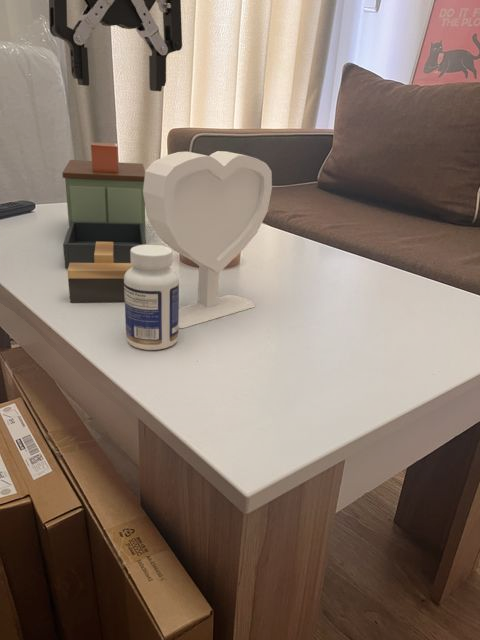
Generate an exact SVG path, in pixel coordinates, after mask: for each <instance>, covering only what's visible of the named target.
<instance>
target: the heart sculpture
mask: <svg viewBox="0 0 480 640" xmlns="http://www.w3.org/2000/svg"><path fill="white" fill-rule="evenodd" d="M272 172H273V171H272V170H271V168H270V167H269V165H268V164H267V163H266V162H265V161H263V160H261V159H259V158H257V157H253V156H250V155H246V154H240V153H235V152H231V151H226V150H225V151H222V150H221V151H220V150H217V151H215V152H213V153H211V154H210V155H206V154H202V153H196V152H193V151H177V152H174V153H170V154H166V155H164V156H162V157H160V158H158V159H156V160H153V162H152V163H151V164H150V165H149V166H148V167H147V168H146V169H145V178H144V187H143V195H144V201H145V215H146V218H147V220H148V221H149V223H150V225H151V226H152V229H153V230H154V232H155V234H156V235H157V237H158V239H159V240H161V242H163V243H164V244H165V245H167V247H168V248H170V249H171V250H172V251H174V252H176V253H177V254H179V255H181V256H183V257H184V258H187V260H190V261H192V262H193V263H195V264H196V265H198V282H197V283H198V284H197V285H198V286H197V287H198V288H197V302H196V303H192V304H188V305H184V306H180V307H179V329H185V328H188V327H192V326H195V325H198V324H201V323H205V322H209V321H212V320H215V319H219V318H222V317H226V316H229V315H232V314H236V313H239V312H243V311H245V310H249V309H252V308H256V305H255V304H254V303H253V302H252V301H251V300H250V299H248V298H245V297H243V296H237V295H232V294H226V295H223V296H219V279H220V274H221V272H223V271H224V269H225V268H226V267H227V266H228V265H229V264H230V263H231V262H232V261H233V260H234V259H235V258H236V257H237V256H239V254H241V253H242V251H244V250H245V248H247V246H248V245H249V244H250V242H251V241H252V240H253V238H254V237H255V236H256V235H257V233H258V232H259V230H260V228H261V225H262V223H263V222H264V220H265V218H266V215H267V213H268V212H269V205H270V202H271V201H270V200H271V196H272V191H273V182H272V181H273V178H272V177H273V176H272V174H273V173H272Z"/></svg>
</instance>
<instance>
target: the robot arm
mask: <svg viewBox="0 0 480 640" xmlns="http://www.w3.org/2000/svg"><path fill="white" fill-rule="evenodd" d="M84 2H85V4H86V6H85V8H84V9H83V10H82V11H81V13H80V15H79V16H78V17H77V19H76V23H75V24H74V26H73V27H72V28H71V27H69V26H68V0H48V20H49V21H48V23H49V32H50V34H51V35H52V36H53V37H54V38H55V37H56V38H59V39H60V40H62V41H64V42H66V43H67V45H68V48H69V55H70V56H69V57H70V58H69V59H70V71H71V73H70V74H71V75H72V78H73V79H74V80H76V81H77V84H78V86H85V87H89V86H90V72H89V54H88V53H89V52H88V51H89V50H88V47H86V46H85V42H86V41H87V40H88V38H89V36H90V35H91V33H92V32H93V31H94V29H96V28H97V26H98V25H99V24H100V25H101V26H105V27H113V26H116V27H119V28H121V29H126V30H133V29H134V30H136V32H137V34H138V35H139V37H140V38H141V39H142V40H143V41H144V43H145V45H146V46H147V48H148V50H149V52H150V53H151V55H149V56H148V68H149V69H148V70H149V72H148V73H149V76H148V77H149V80H148V81H149V83H148V84H149V85H148V86H149V90H150V91H152V92H162V90H163V87H165V86H166V84H167V57H168V55H169V54H172V53H174V52H179V51H181V50H182V49H183V30H182V29H183V27H182V26H183V25H182V2H181V0H84ZM155 3H157V5H158V10H159V11H160V12H161V13H162V21H163V23H162V24H163V36H162V35H161V33H160V29H159V27H158V25H157V23H156V21H155V19H154V17H153V16H152V14H151V12H150V11H151V9H152V8H153V7H154V4H155Z"/></svg>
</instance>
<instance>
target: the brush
mask: <svg viewBox="0 0 480 640" xmlns="http://www.w3.org/2000/svg"><path fill="white" fill-rule="evenodd" d="M94 261H95V263H69V267H68V269H67V271H66V272H67V280H68V294H69V295H68V296H69V303H125V297H124V275H125V273H126V272H127V271H128V270H129V269H130V268H132V267H133V265H132V264H131V263H114V246H113V242H96V245H95V252H94Z"/></svg>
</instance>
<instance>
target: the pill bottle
mask: <svg viewBox="0 0 480 640" xmlns="http://www.w3.org/2000/svg"><path fill="white" fill-rule="evenodd" d="M130 253H131V254H130V256H131V264H132V265H133V267H132V268H130V269H129V270H128V271H127V272H126V273H125V275H124V297H125V302H124V317H125V319H124V320H125V335H126V337H125V338H126V341H127V343H128V344H130V345H131V346H132V347H134V348H137V349H139V350H145V351H146V350H147V351H156V350H157V351H159V350H162V349H163V350H164V349H166V348H170V347H172V346H174V345H175V344H176V343H177V342H178V340H179V333H180V331H179V329H180V328H179V308H180V307H179V306H180V277H179V274H178V273H177V271H176V270H175V269H173V268H171V266H172V265H173V249H172V248H170V247H169V246H165V245H161V244H147V245H138V246H135V247H133V248H131V250H130Z"/></svg>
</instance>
